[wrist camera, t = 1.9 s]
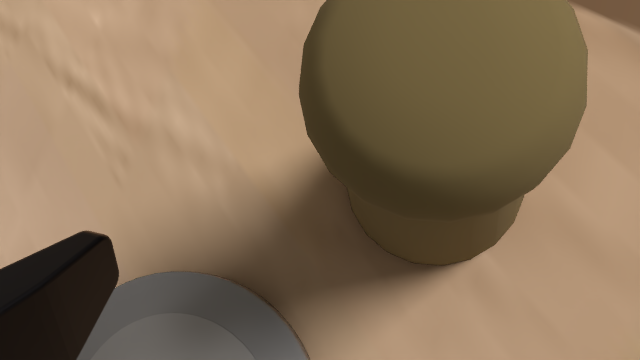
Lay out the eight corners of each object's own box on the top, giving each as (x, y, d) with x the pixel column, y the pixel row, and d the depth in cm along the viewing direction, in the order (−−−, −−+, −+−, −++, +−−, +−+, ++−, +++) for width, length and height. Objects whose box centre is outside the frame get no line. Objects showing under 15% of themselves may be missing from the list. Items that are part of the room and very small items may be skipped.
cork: (314, 206, 20) (187, 114, 10) (403, 63, 21) (376, -175, 10) (466, 301, 19) (514, 317, 8) (560, 145, 19) (723, -33, 9)
